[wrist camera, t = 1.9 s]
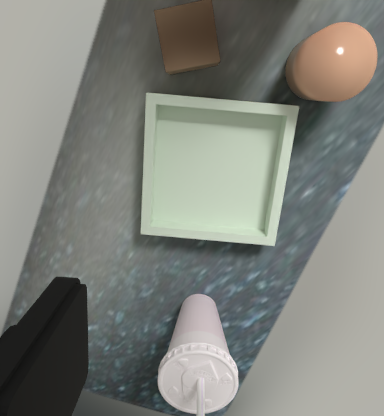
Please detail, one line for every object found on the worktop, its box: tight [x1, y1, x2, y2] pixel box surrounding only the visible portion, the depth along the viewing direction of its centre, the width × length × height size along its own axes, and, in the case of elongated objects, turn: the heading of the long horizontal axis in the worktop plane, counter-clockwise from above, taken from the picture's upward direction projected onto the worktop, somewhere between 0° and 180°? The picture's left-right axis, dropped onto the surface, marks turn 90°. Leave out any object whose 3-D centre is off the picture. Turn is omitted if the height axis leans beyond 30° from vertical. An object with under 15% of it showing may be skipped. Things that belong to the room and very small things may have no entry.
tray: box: [141, 93, 299, 246], centre depth 30 cm, size 12×12×2 cm
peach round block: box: [285, 22, 377, 102], centre depth 25 cm, size 5×5×5 cm
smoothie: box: [158, 294, 238, 416], centre depth 29 cm, size 6×6×14 cm
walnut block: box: [154, 0, 220, 75], centre depth 26 cm, size 4×4×4 cm
